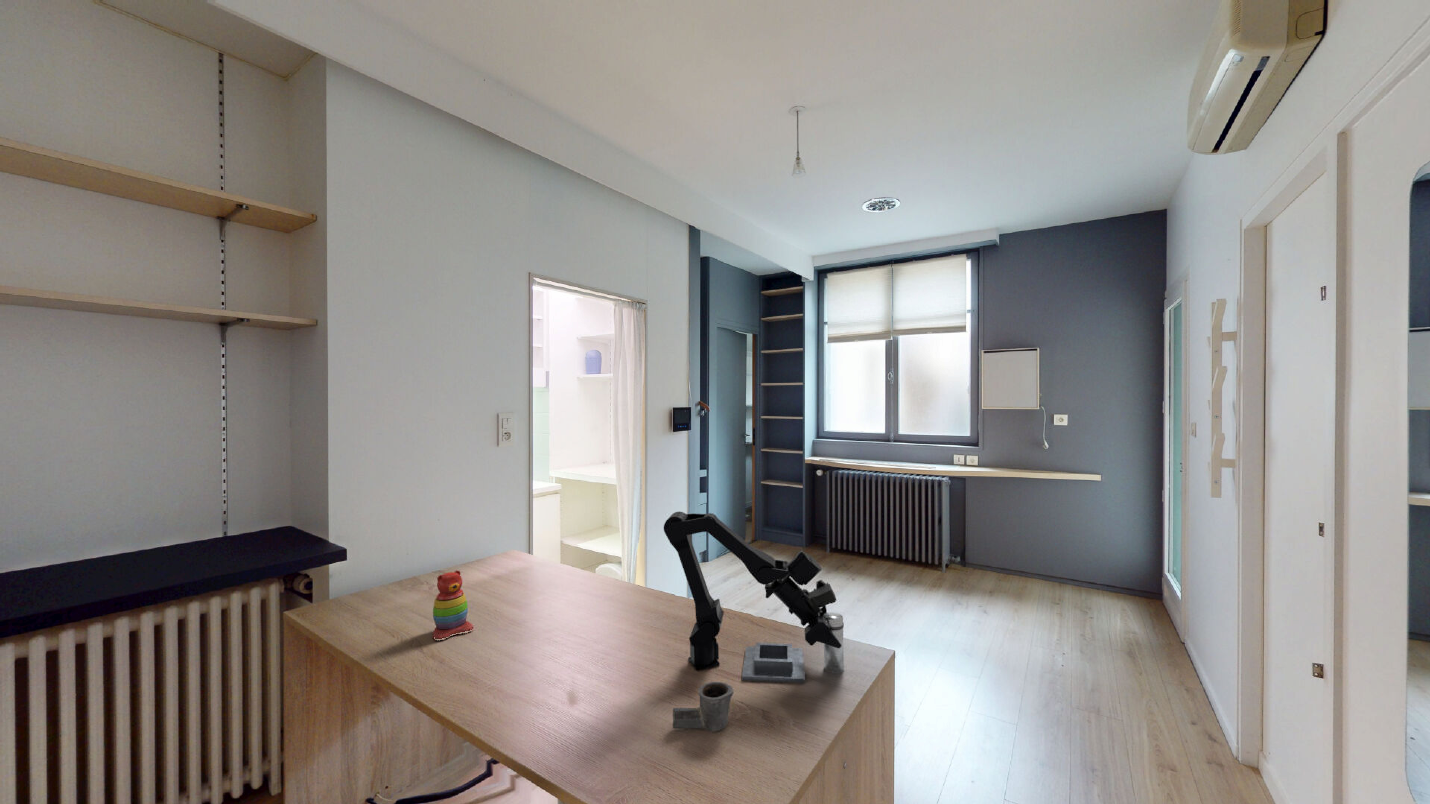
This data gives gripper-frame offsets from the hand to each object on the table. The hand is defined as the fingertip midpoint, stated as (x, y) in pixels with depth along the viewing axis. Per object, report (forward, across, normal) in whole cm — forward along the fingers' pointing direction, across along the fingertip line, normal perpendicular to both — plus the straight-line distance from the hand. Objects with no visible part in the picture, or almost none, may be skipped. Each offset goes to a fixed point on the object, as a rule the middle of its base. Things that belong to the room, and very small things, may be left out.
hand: (839, 642), depth 130 cm
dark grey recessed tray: (-7, 0, +16) cm, 18 cm away
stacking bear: (-75, +12, +85) cm, 114 cm away
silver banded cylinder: (+4, 0, +6) cm, 7 cm away
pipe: (-17, -26, +26) cm, 41 cm away
